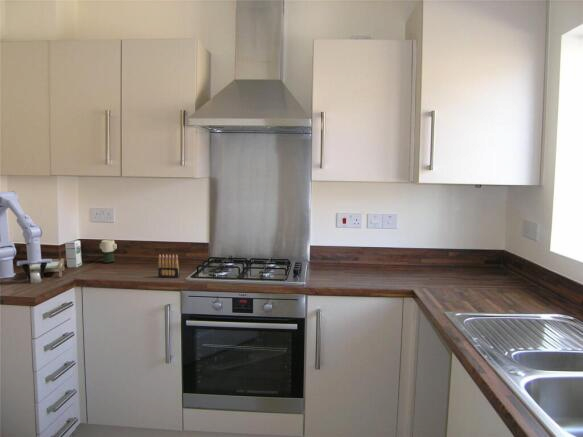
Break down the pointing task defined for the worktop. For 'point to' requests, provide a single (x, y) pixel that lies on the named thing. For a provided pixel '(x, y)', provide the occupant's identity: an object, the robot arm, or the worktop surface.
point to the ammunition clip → (168, 267)
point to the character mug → (108, 250)
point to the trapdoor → (49, 265)
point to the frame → (59, 268)
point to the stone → (35, 277)
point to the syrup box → (73, 253)
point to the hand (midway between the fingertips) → (35, 278)
